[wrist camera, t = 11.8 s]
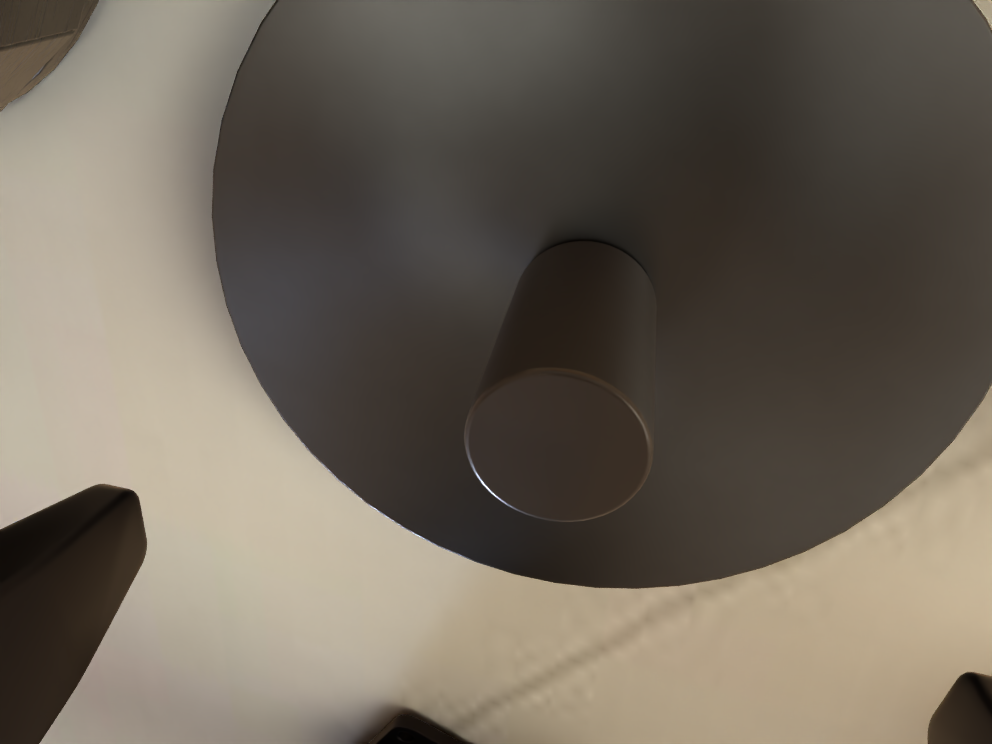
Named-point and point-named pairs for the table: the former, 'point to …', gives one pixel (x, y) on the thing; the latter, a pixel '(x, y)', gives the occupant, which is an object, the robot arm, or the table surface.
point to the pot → (36, 40)
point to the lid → (615, 266)
